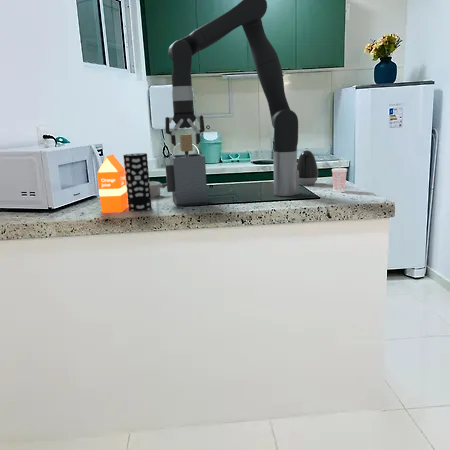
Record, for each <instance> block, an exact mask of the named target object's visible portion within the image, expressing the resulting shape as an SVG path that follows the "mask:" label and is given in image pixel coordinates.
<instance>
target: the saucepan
mask: <svg viewBox="0 0 450 450" xmlns="http://www.w3.org/2000/svg"><path fill="white" fill-rule="evenodd" d="M149 183H150V195H151V199H153V197H154V198H157V197H159V195H161V189H165V188H167V182H165V183H161V182H160V181H149ZM156 196H157V197H156Z"/></svg>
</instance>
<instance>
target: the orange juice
mask: <svg viewBox="0 0 450 450" xmlns="http://www.w3.org/2000/svg"><path fill="white" fill-rule="evenodd" d="M104 158H105V159H104V160H103V162H102V164H101V165H100V168H98V170H97V172H96V173H97V174H96V175H97V185H98V195H99V200H100V209H101V213H104V214H105V213H107V214H108V213H122V212H124V211H125V210H127V208H129V207H128V197H127V187H126V177H125V167H124V166H123V165H122V164H121V163H120V161H119V160H118V159H117V157H115V155H114V154H110V155H107V156H106V157H104Z"/></svg>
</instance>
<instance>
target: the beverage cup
mask: <svg viewBox="0 0 450 450" xmlns="http://www.w3.org/2000/svg"><path fill="white" fill-rule="evenodd" d="M347 172H348V168H346V167H345V168H344V167H341V156H339V157H338V167H337V168H336V167H334V168H332V169H331V173H332V175H331V176H332V192H334V193H344V192H345V191H346V182H347Z"/></svg>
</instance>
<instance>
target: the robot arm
mask: <svg viewBox="0 0 450 450" xmlns="http://www.w3.org/2000/svg"><path fill="white" fill-rule="evenodd" d="M267 10H268V2H267V0H240V1H239V3H238V4H237V5H235V6H234V7H232V8H231V9H229V10H228V11H227V12H225V13H223V14H222V15H219V16H218V17H216V18H214V19H212V20H211V21H208V22H207V23H205V24H203V25H201V26H200V27H198V28H196V29H194V30H193V31H192V32H191V33H189V34H187V36H184V37H183V38H181V39H178V40H175V41H174V42H173V43H172V44H170V46H169V47H168V51H167V52H168V57H169V59H170V60H171V62H172V72H171V85H172V86H171V88H172V90H171V95H172V96H171V98H172V108H173V110H172V111H173V116H172V117H168V116H166V117H165V118H164V119H165V120H164V123H165V134H167V135H170V142H171V144H172V146H174V147H176V146H177V143H176V142H177V140H176V135H175V134H176V132H177V131H178V130H179V129H190V128H191V129H192V130H193V132H194V133H195V144H196V145H199V144H200V143H201V133H204V132H205V131H206V130H205V129H206V128H205V122H204V116H203V115H195V106H194V105H195V104H194V103H195V102H194V98H195V97H194V91H193V83H192V82H193V81H192V73H191V72H192V60H193V56H194V55H195V54H197V53H199V52H201V51H203V50H206V49H207V48H209V47H211V46H212V45H214V44H215V43H217V42H219V41H220V40H221V39H223V38H224V37H226V36H227V35H228V34H229V33H231V32H232V31H234V30H236V29H237V28H239V27H241V28H242V30H243V32H244V35H245V36H246V39H247V43H248V45H249V50H250V54H251V58H252V60H253V63H254V64H253V65H254V67H255V70H256V73H257V78H258V79H259V82H260V83H259V84H260V85H261V89H262V92H263V94H264V96H265V98H266V102H267V104H268V105H267V106H268V109H269V114H270V121H271V125H272V128H273V130H274V131H273V136H274V137H273V139H274V140H273V144H272V145H273V146H272V151H273V158H272V159H273V160H272V161H273V195H274V196H277V197H291V196H295V195H296V196H297V195H299V194H300V184H299V171H298V170H297V162H298V144H299V117H298V115H297V114H296V112H295V111H294V110H292V109H291V108H290V105H289V103H288V100H287V97H286V94H285V93H286V92H285V91H286V90H285V82H284V75H283V74H284V73H283V69H282V65H281V62H280V59H279V56H278V52H277V50H276V49H275V48H274V46H273V44H271V42H270V41H269V39H268V37H267V34H266V32H265V30H264V29H265V28H264V26H263V20H262V18H263V17H264V16H265V14H267ZM196 120H197V122H198V123H199V129H198V128H197V126H196V125H195V121H196ZM172 121H173V122H174V123H175V125H174V127H173V128H172V130H170V124H171V123H172Z"/></svg>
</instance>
